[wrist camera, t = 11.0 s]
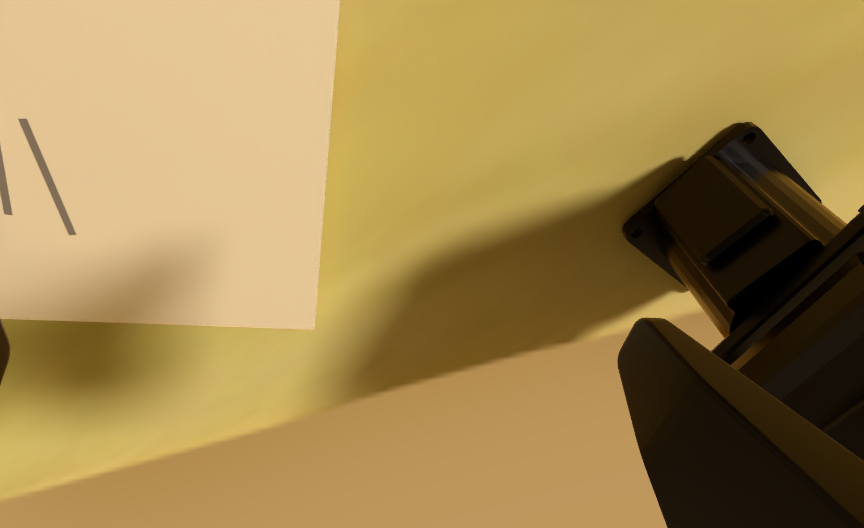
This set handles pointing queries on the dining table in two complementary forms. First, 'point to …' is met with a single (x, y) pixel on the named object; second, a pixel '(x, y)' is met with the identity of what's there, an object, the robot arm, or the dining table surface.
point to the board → (164, 160)
